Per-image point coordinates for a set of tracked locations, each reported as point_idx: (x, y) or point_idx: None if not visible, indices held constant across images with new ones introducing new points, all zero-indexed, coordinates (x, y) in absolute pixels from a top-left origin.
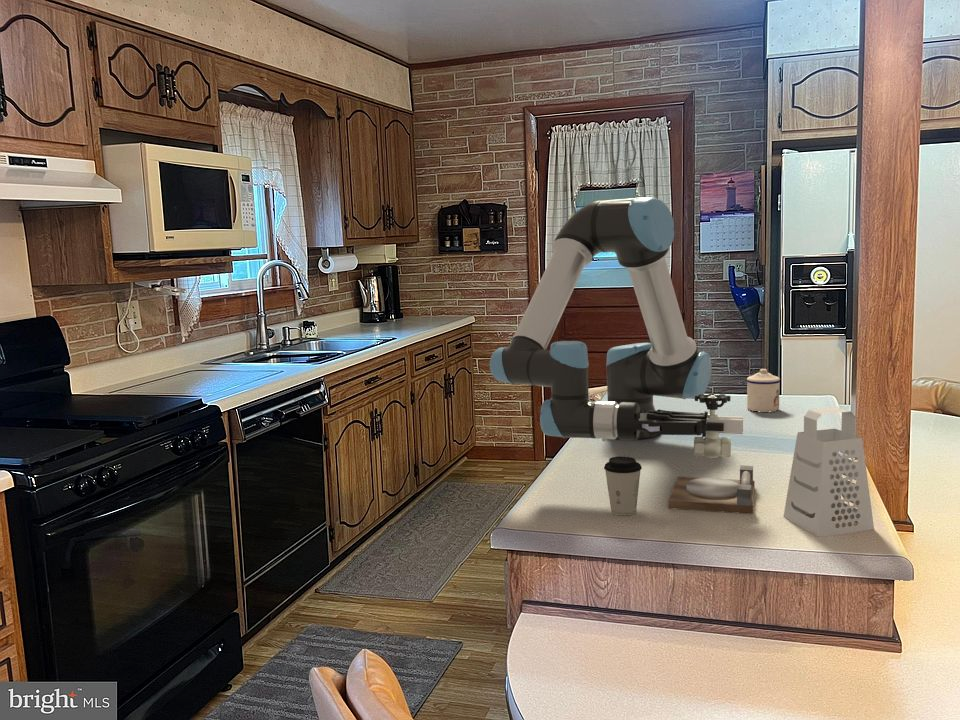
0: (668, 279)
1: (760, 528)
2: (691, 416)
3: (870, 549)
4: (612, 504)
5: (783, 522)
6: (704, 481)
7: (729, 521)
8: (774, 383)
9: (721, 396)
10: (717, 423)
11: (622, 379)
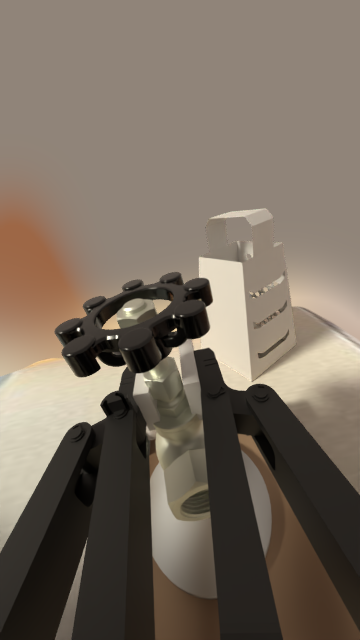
0: None
1: (322, 393)
2: (133, 466)
3: (298, 315)
4: None
5: (274, 377)
6: (177, 530)
7: (330, 440)
8: None
9: (129, 293)
10: (207, 361)
11: None
